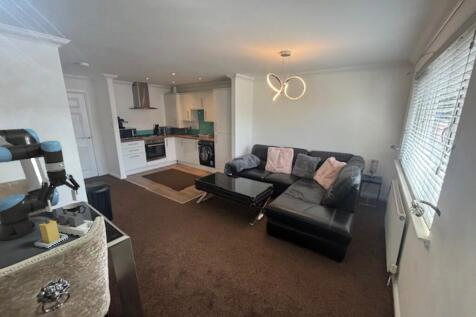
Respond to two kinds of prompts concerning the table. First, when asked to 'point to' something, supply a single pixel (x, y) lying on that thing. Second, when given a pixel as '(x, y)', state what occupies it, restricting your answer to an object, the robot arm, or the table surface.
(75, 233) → the strip
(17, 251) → the table surface
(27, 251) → the table surface
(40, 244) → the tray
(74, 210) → the mug
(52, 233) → the plug
